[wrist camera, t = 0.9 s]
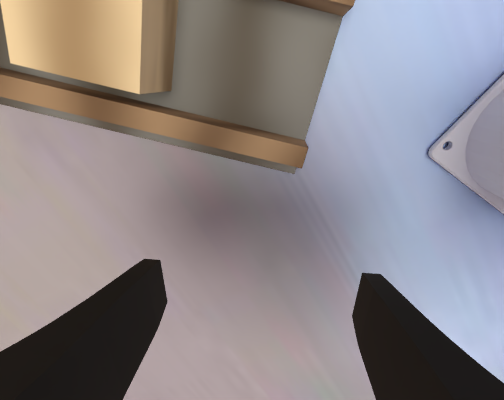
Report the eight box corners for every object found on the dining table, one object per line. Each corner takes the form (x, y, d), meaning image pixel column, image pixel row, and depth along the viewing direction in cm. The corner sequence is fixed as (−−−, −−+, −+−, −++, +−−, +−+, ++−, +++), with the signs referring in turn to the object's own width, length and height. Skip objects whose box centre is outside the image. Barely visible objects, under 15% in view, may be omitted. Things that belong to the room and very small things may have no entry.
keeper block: (178, -1, 14) (143, -29, 10) (171, 90, 16) (139, 94, 12) (65, -28, 14) (-12, -68, 10) (72, 67, 16) (10, 63, 12)
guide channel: (357, -37, 13) (374, -60, 11) (294, 171, 17) (296, 185, 15) (-100, -151, 12) (-179, -200, 10) (-40, 92, 17) (-86, 94, 15)
